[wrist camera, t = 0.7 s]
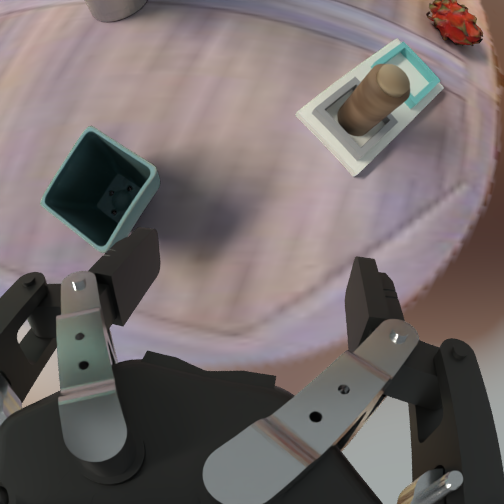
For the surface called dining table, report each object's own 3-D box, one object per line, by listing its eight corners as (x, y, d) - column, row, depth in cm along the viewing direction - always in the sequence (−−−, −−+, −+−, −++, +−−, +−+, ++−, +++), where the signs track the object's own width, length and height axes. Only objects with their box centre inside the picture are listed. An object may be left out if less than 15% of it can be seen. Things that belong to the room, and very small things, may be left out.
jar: (333, 103, 35) (368, 57, 24) (365, 103, 35) (406, 60, 24) (341, 137, 35) (382, 98, 24) (374, 135, 35) (420, 99, 24)
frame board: (353, 176, 36) (362, 171, 34) (295, 115, 36) (299, 106, 33) (439, 90, 38) (449, 83, 35) (393, 42, 37) (401, 33, 34)
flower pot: (175, 188, 35) (159, 168, 26) (132, 254, 35) (103, 255, 26) (117, 150, 34) (88, 123, 25) (76, 213, 34) (37, 203, 25)
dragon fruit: (410, 16, 39) (458, 51, 42) (427, 27, 34) (478, 68, 37) (431, -17, 33) (479, 21, 35) (452, -10, 27) (502, 35, 30)
